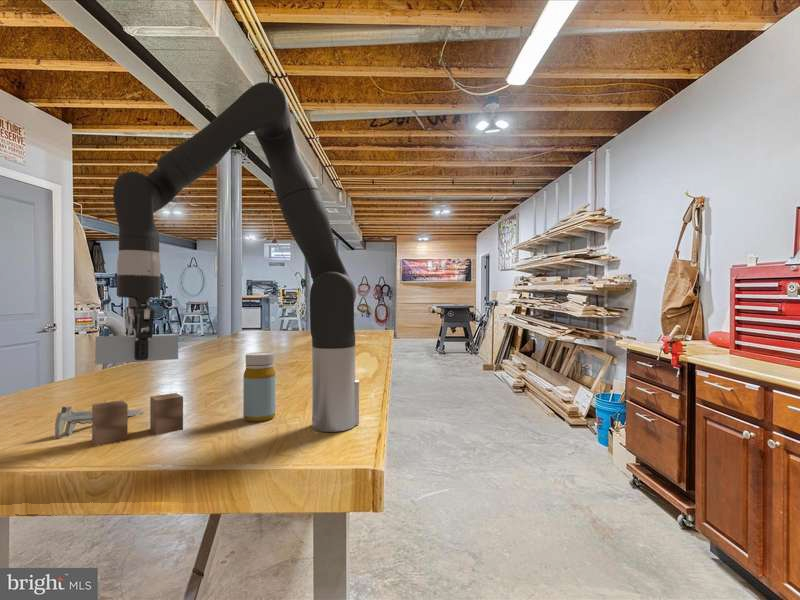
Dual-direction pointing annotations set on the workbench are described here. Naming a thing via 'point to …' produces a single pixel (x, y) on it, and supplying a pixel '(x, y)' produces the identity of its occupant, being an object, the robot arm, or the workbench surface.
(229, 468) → the workbench surface
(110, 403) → the pillar
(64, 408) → the caliper
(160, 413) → the pillar
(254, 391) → the bottle
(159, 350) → the lintel
